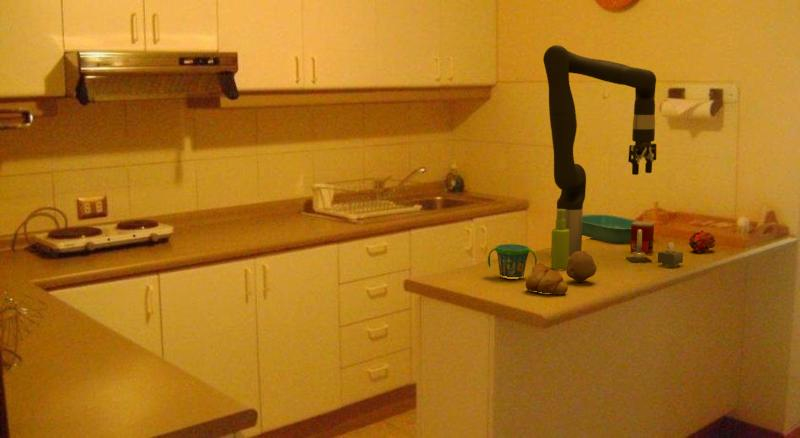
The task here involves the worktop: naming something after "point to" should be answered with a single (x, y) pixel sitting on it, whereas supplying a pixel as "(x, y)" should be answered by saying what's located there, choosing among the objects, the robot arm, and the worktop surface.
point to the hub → (671, 247)
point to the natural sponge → (581, 266)
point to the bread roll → (545, 280)
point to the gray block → (670, 257)
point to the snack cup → (512, 259)
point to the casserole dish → (607, 228)
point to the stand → (639, 252)
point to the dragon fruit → (702, 241)
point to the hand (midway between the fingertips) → (641, 173)
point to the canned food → (646, 236)
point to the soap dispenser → (560, 243)
